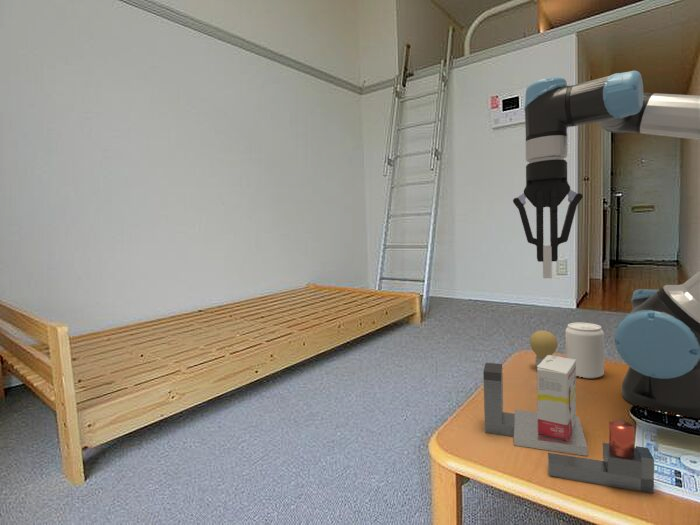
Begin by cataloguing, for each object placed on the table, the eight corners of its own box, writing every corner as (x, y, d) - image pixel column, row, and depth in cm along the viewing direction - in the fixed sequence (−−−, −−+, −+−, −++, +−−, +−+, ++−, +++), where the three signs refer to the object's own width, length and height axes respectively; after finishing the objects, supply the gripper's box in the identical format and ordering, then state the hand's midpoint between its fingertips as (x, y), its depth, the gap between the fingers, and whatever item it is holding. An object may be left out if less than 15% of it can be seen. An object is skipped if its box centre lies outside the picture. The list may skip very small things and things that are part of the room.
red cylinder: (634, 462, 60) (634, 420, 59) (641, 478, 56) (642, 433, 56) (602, 457, 62) (602, 417, 61) (607, 473, 58) (608, 429, 57)
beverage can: (564, 366, 106) (563, 321, 105) (600, 369, 103) (600, 322, 102) (567, 378, 98) (567, 329, 97) (606, 381, 95) (606, 330, 94)
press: (578, 424, 76) (578, 364, 75) (587, 456, 66) (587, 387, 65) (488, 413, 82) (486, 357, 81) (483, 440, 72) (482, 377, 71)
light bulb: (557, 366, 106) (557, 328, 105) (557, 374, 101) (557, 335, 100) (531, 363, 109) (530, 327, 108) (529, 371, 104) (528, 333, 103)
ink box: (568, 442, 68) (567, 372, 67) (536, 434, 71) (535, 367, 70) (577, 421, 74) (577, 358, 73) (547, 414, 77) (547, 353, 76)
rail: (647, 480, 59) (647, 447, 59) (653, 493, 56) (654, 458, 56) (547, 464, 64) (547, 434, 64) (549, 475, 61) (548, 444, 61)
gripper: (580, 160, 83) (580, 275, 85) (511, 166, 88) (513, 275, 90) (585, 154, 76) (586, 280, 78) (510, 162, 81) (513, 279, 83)
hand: (547, 277), depth 84 cm, fingers closed
